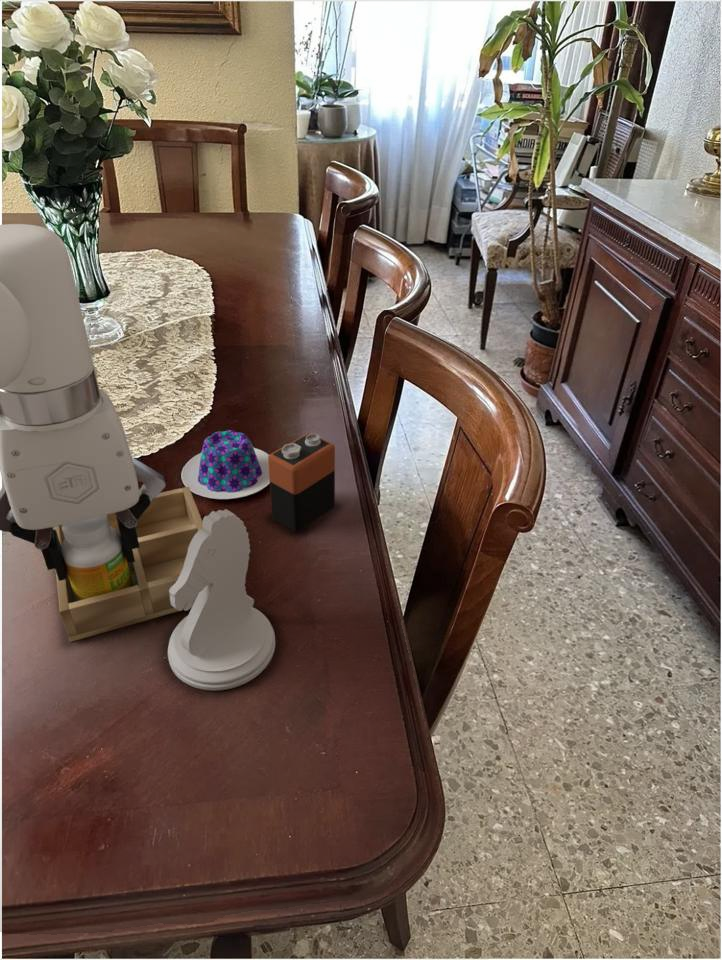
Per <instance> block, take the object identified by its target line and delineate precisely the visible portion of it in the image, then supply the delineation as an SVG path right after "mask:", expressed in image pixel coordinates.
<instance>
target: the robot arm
mask: <svg viewBox="0 0 722 960" xmlns="http://www.w3.org/2000/svg"><path fill="white" fill-rule="evenodd" d="M71 263H72V262H71V259H70V255H69V253H68V249H67V246H66V244H65V243H64V241H63V240H62V238H61V237H60V235H58V234H57V233H56V232H55V231H52V229H49V228H47V227H45V226H39V225H34V224H27V223H8V224H7V223H5V224H0V475H1V479H2V482H3V486H2V487H1V489H0V531H2V532H4V533H7V532H8V533H10V534H11V536H13V537H15V538H18V539H21V540H24V541H26V542H29V543H31V544H34V547H35V548H36V549H38V550H41V553H42V557H43V560H44V563H45V566H46V568H47V571H50V570H54V571H55V570H56V571H55V574H56V573H57V576H58V579H59V581H61V580H65V578H67V571H66V568H65V564H64V561H63V558H62V554H61V544H60V541H59V538H58V535H57V532H56V530H54V529H53V527H55V526H59V525H64V524H68V523H73V522H77V521H82V520H86V519H90V518H95V517H99V516H103V515H108V514H112V513H115V514H116V518H117V522H118V527H119V531H120V535H121V539H122V543H123V547H124V551H125V555H126V559H127V562H130V563H132V562H135V559H134V555H133V550H132V549H135V548H139V542H138V538H137V533H136V529H135V526H136V525H137V523H138V522H137V520H138V519H139V517H140V516H141V515H142V514H143V513H144V511H145V510H146V509H147V508H148V507H149V505H150V503H151V501H152V500H153V499H155V497H156V496H157V495H158V494H159V493H162V491H163V490H164V489H165V488H166V486H167V483H166V482H165V479H164V475H162V474H161V473H160V472H157V471H156V470H155V469H152V468H151V467H149V466H148V465H146V464H144V463H143V462H141V461H140V460H138V459H137V458H134V457H133V456H132V452H131V450H130V446H129V442H128V439H127V436H126V433H125V430H124V426H123V423H122V421H121V419H120V416H119V413H118V411H117V409H116V406H115V404H114V402H113V400H112V399H111V397H110V396H109V394H108V393H107V392H105V391H104V390H102V389H100V385H99V382H98V381H99V380H98V377H97V372H96V368H95V364H94V359H93V354H92V350H91V345H90V342H89V338H88V334H87V330H86V329H87V328H86V325H85V321H84V316H83V311H82V307H81V303H80V298H79V294H78V290H77V289H78V288H77V285H76V281H75V276H74V273H73V267H72V264H71ZM139 483H141V484H142V485H141V487H139ZM10 511H11V512H12V513H11V512H10Z"/></svg>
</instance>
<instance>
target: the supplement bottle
mask: <svg viewBox="0 0 722 960" xmlns="http://www.w3.org/2000/svg"><path fill="white" fill-rule="evenodd" d="M62 531H63V535H64V538H65V540H64V541H63V543H62V546H61V554H62V558H63V561H64V564H65V568H66V571H67V574H68V577H69V580H70V583H71V586H72V590H73V593H74V596H75V599H76V601H80V600H83V599H87V598H91V597H95V596H98V595H102V594H106V593H110V592H113V591H117V590H121V589H125V588H128V587H132V586H133V583H132V579H131V575H130V571H129V567H128V562H127V559H126V555H125V551H124V547H123V543H122V539H121V536H120V534H119V533H118V531H117V530H115V529H114V528H112V527H110V523H109V520H108V516H107V515H103V516H99V517H95V518H90V519H86V520H82V521H77V522H73V523H68V524H64V525H62Z"/></svg>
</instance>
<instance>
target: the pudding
mask: <svg viewBox="0 0 722 960" xmlns="http://www.w3.org/2000/svg"><path fill="white" fill-rule="evenodd" d="M269 455H270V454H269V453H267V452H266V451H264V450H262V449H259V448H256V447H254V446H253V443H252V441H251V440H250V439H249V437H248V435H246V433H244V432H242V431H240V432H239V431H236V430H231V429H227V430H225V431H221V430H219V431H215V432H214V433H212V434H211V435H209V436H207V437H206V438H205V439H203V443H202V446H201V452H199V453H198V454H196V455H194V456H193V457H192V458H190V459H189V460H188V461H187V463H185V464H184V466H183V468H182V470H181V474H180V475H181V476H180V478H181V481H182V483H183V485H184V487H189V489H190V491H191V493H193V494H195V495H198V496H200V497H204V498H208V499H215V500H231V499H239V498H243V497H248V496H250V495H254V494H256V493H258V492H260V491H262V490H263V489H265V488H266V487H267V486H269V485H270V478H269V463H268V456H269Z"/></svg>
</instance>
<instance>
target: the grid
mask: <svg viewBox="0 0 722 960" xmlns="http://www.w3.org/2000/svg"><path fill="white" fill-rule="evenodd" d="M107 516H108V520H109V523H110V527H112V528H114V529H115V530H117V531H118V533H119V534H120V531H119V527H118V522H117V518H116V514H115V513H112V514H108V515H107ZM137 522H138V523H137V525H136V526H135V529H136V533H137V538H138V542H139V548H135V549H132V550H133V555H134V559H135V562H132V563H130V562H128V567H129V571H130V575H131V579H132V583H133V586H132V587H128V588H125V589H121V590H117V591H113V592H110V593H106V594H102V595H98V596H95V597H91V598H87V599H83V600H80V601H76V599H75V596H74V593H73V590H72V586H71V583H70V580H69V577H68V574H67V578H65V580H61V581H59V579H58V576H57V573H56V570H55V569H54V571H55V579H56V589H57V590H56V591H57V599H58V607H59V614H60V617H61V620H62V622H63V626H64V628H65V631H66V634H67V637H68V640H69V642H70V643H73V642H75V641H79V640H82V639H85V638H89V637H93V636H96V635H99V634H104V633H107V632H110V631H111V632H112V631H113V630H118V629H121V628H124V627H128V626H132V625H135V624H139V623H142V622H147V621H149V620H152V619H156V618H160V617H162V616H166V615H169V614H173V613H177V612H179V611H178V610H177V609H176V608H174V607H173V606H172V605H171V602H170V593H169V589H170V588H171V587H172V586H173V585H174V584H175V583H176V581H177V580H178V578H179V576H180V574H181V572H182V569H183V567H184V562H185V559H186V556H187V552H188V548H189V545H190V543H191V541H192V539H193V537H194V535H195V534H196V533H197V532H198V531H199V530H201V529H203V528H202V522H203V518H202V517H201V513H200V512H199V509H198V507H197V504H196V502H195V499H194V495H193V494H192V491H190V489H189V487H186V486H184V487H180V488H175V489H172V490H171V489H170V490H166V491H163V492H162V491H161V492H160V493H159V494H158V495H157V496H156V497H155V499H153V500H152V501H151V503H150V505H149V507H148V508H147V509H146V510H145V511H144V513H143V514H142V515H141V516H140V517H139V519H138V520H137ZM53 529H54V530H56V532H57V535H58V538H59V541H60V544H61V546H62V543H63V541H64V540H65V538H64V535H63V531H62V525H59V526H55V527H53ZM120 536H121V535H120ZM198 594H199V593H198ZM198 594H197V596H198ZM197 596H196V598H197ZM196 598H195V600H196ZM195 600H194V601H193V604H194V602H195ZM192 606H193V605H192ZM181 611H184V610H183V609H182V610H181Z"/></svg>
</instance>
